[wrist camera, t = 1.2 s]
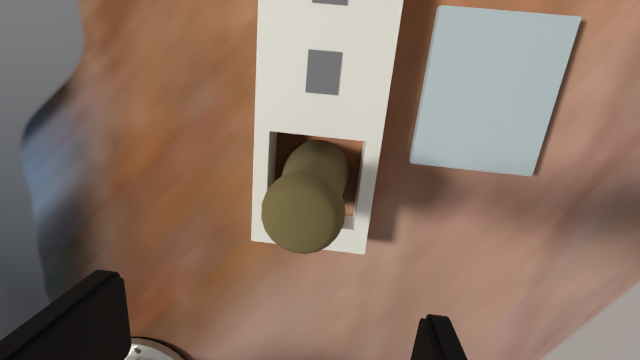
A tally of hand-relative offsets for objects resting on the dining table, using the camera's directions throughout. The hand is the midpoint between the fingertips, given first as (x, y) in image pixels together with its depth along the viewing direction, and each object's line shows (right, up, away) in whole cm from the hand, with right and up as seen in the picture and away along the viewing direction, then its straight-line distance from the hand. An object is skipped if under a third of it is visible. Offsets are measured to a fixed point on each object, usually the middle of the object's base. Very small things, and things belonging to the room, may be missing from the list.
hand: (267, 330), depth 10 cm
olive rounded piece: (+1, +5, +19) cm, 19 cm away
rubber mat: (+15, +11, +15) cm, 24 cm away
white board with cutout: (+2, +11, +17) cm, 20 cm away
